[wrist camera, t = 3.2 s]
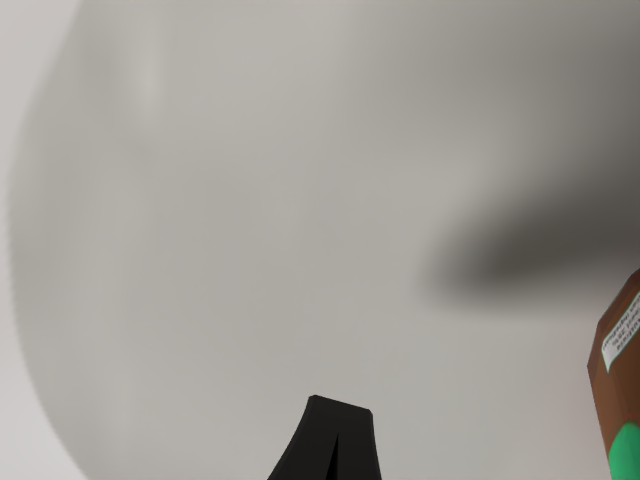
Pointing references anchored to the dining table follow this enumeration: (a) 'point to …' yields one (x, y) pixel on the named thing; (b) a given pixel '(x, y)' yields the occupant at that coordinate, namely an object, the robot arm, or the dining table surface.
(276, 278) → the dining table surface
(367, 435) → the robot arm
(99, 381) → the dining table surface
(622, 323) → the food container
